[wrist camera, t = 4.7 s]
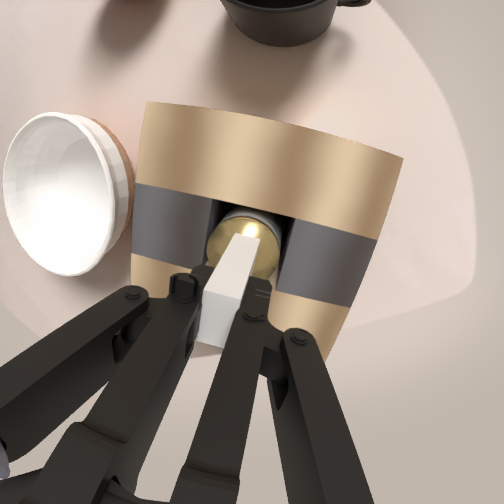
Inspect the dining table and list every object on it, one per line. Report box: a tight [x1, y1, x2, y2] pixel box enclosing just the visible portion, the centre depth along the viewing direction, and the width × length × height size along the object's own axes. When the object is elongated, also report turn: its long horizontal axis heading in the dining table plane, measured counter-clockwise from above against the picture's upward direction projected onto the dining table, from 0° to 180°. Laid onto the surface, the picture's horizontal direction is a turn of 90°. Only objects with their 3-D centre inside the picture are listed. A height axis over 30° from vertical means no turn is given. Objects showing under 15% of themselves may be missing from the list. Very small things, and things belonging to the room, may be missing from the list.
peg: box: [207, 204, 284, 280], centre depth 22 cm, size 4×4×9 cm
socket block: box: [131, 102, 403, 362], centre depth 24 cm, size 16×16×10 cm
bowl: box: [3, 112, 134, 277], centre depth 26 cm, size 16×16×8 cm
